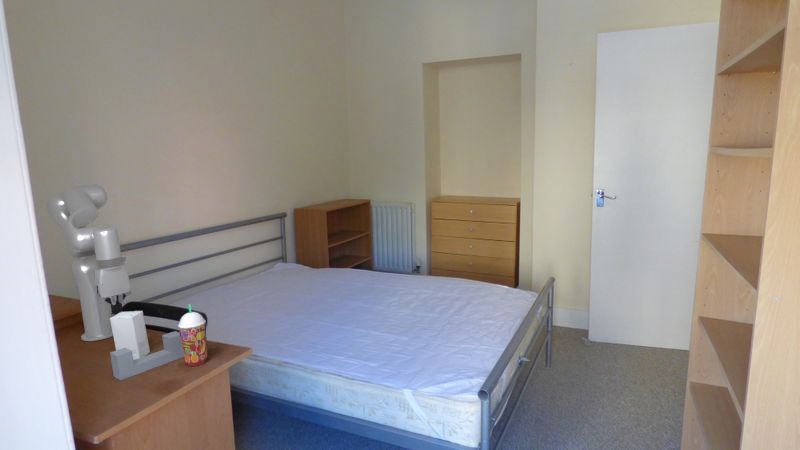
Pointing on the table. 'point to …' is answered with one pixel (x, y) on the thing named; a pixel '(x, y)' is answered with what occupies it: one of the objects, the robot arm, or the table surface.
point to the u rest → (146, 357)
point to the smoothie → (193, 338)
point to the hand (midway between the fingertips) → (117, 314)
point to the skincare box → (130, 333)
